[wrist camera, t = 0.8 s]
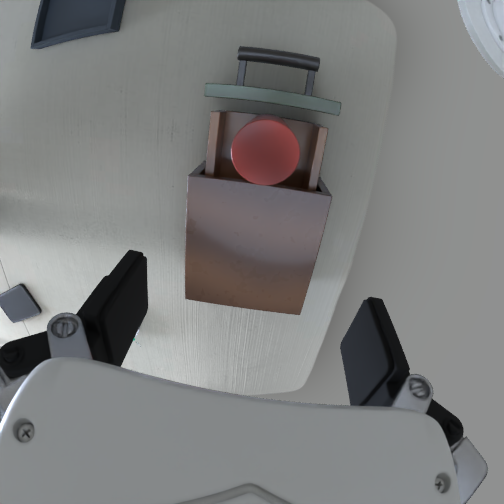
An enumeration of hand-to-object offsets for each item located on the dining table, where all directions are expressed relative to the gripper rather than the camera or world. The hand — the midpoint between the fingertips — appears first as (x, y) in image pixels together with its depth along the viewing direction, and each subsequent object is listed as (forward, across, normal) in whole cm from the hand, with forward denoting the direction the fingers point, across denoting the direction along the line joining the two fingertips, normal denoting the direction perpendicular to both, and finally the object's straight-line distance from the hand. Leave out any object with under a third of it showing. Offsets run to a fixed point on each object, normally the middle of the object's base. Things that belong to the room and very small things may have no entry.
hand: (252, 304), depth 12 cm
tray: (+21, +26, -20) cm, 39 cm away
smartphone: (+21, +45, +33) cm, 59 cm away
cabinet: (+21, 0, +6) cm, 22 cm away
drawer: (+20, +1, -5) cm, 21 cm away
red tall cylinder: (+19, +1, -4) cm, 20 cm away
